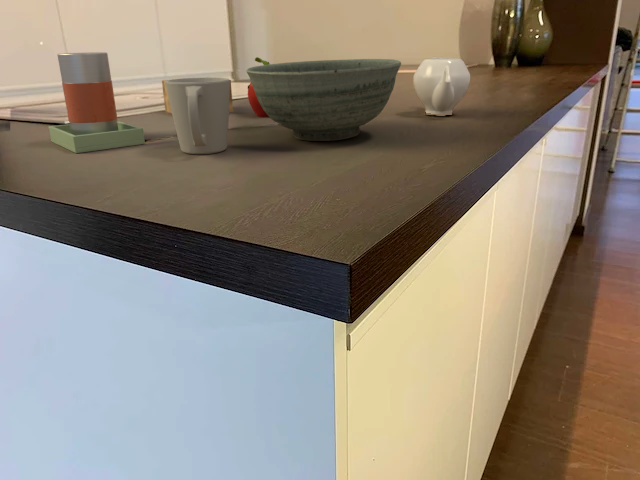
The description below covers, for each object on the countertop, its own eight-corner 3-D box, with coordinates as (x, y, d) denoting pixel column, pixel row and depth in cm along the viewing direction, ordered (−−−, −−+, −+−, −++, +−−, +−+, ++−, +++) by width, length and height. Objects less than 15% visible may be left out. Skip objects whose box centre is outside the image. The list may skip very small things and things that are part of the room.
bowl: (429, 140, 72) (434, 61, 68) (288, 157, 63) (285, 68, 59) (349, 120, 89) (349, 57, 85) (229, 132, 80) (223, 61, 76)
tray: (51, 141, 75) (48, 126, 74) (115, 133, 80) (113, 119, 80) (76, 153, 67) (73, 136, 66) (145, 143, 72) (143, 128, 72)
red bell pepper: (296, 118, 93) (294, 56, 89) (267, 123, 88) (264, 58, 84) (265, 114, 97) (262, 56, 94) (237, 119, 93) (232, 57, 89)
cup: (236, 143, 71) (232, 76, 68) (230, 159, 62) (225, 83, 59) (178, 145, 71) (171, 78, 68) (164, 161, 62) (154, 84, 59)
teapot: (415, 123, 85) (418, 61, 82) (408, 107, 104) (411, 56, 101) (476, 123, 84) (482, 61, 81) (459, 107, 103) (463, 56, 100)
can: (66, 138, 74) (50, 53, 70) (110, 132, 77) (98, 52, 74) (80, 144, 69) (64, 54, 65) (126, 138, 73) (114, 52, 69)
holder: (165, 114, 99) (161, 80, 97) (209, 110, 104) (206, 77, 102) (188, 119, 92) (184, 83, 90) (233, 114, 98) (230, 79, 96)
